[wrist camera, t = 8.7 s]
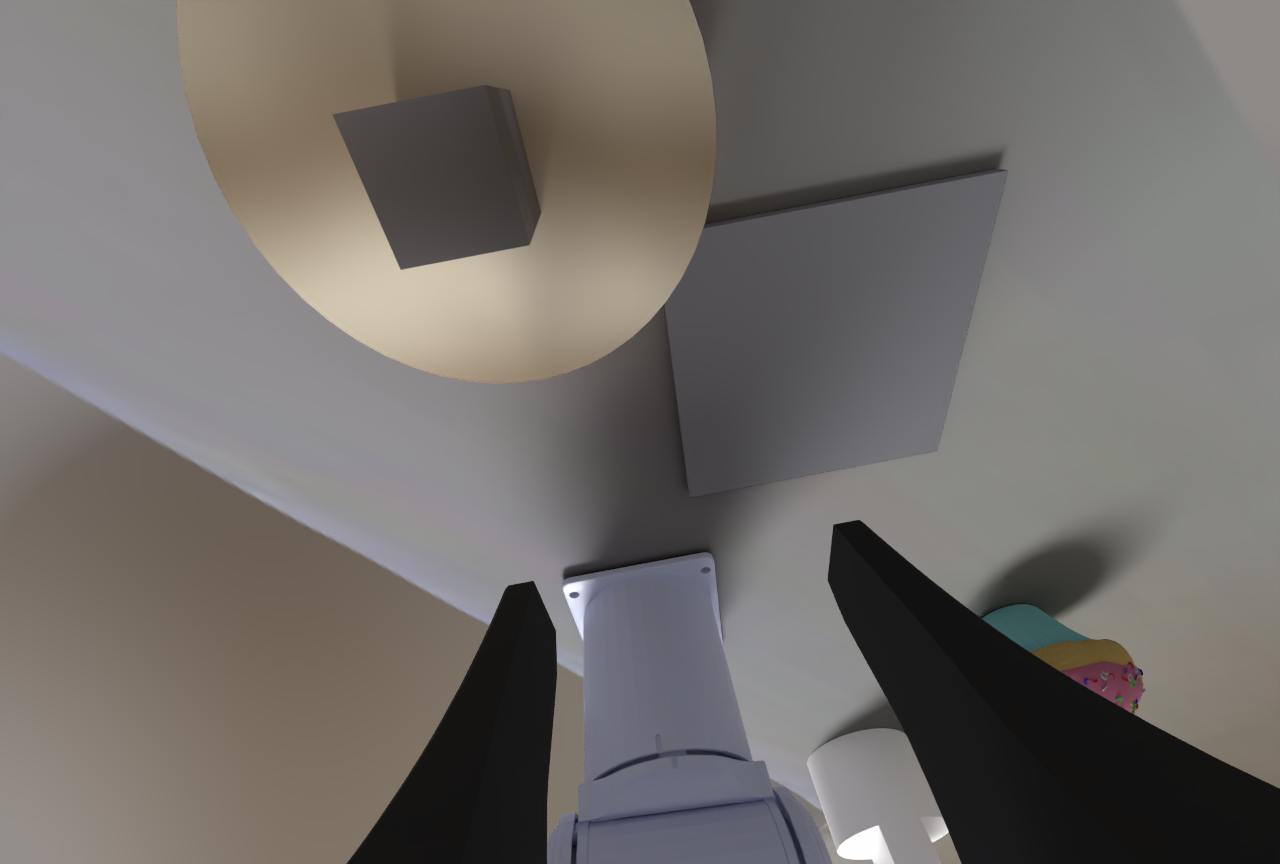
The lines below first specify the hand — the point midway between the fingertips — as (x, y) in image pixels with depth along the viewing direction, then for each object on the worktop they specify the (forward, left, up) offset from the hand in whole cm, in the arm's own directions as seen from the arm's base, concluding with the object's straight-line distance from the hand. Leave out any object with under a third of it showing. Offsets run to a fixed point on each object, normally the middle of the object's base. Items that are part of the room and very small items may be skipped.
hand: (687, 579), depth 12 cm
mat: (0, -7, -9) cm, 12 cm away
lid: (+9, +3, -6) cm, 11 cm away
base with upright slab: (-40, -13, -10) cm, 43 cm away
